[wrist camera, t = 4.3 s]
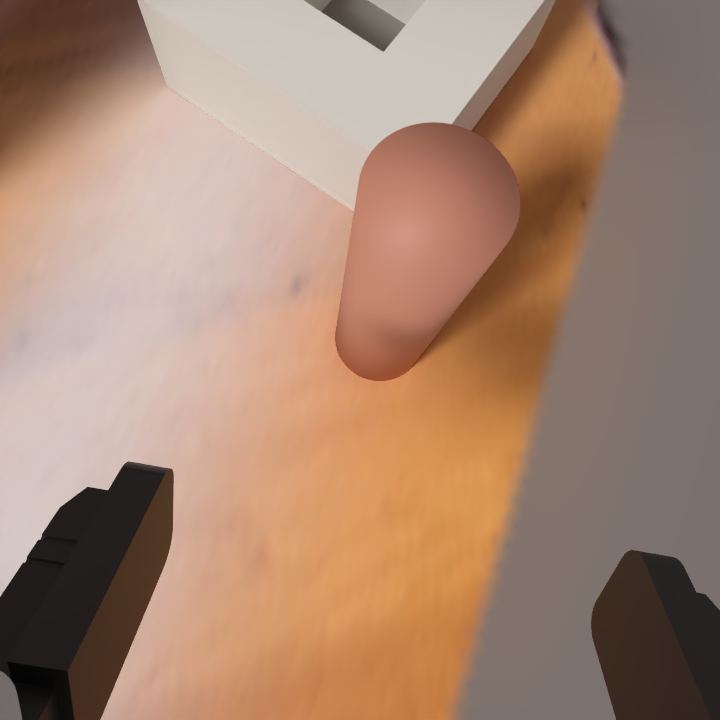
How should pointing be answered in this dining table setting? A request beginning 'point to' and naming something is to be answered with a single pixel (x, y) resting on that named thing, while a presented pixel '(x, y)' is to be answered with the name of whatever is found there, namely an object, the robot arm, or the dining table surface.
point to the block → (339, 70)
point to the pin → (420, 242)
